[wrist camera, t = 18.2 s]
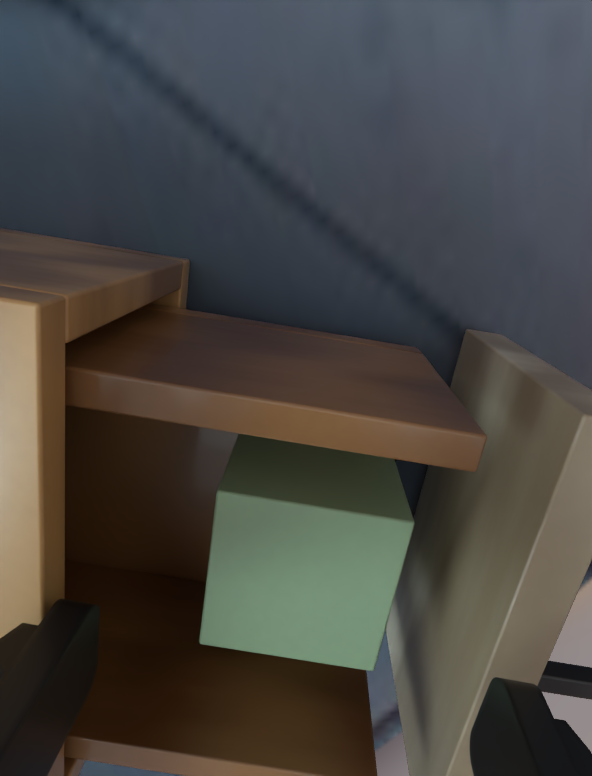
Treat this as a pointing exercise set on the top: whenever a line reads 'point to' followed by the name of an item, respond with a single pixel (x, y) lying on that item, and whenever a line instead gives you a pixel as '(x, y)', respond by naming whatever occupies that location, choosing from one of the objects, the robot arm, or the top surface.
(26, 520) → the cabinet
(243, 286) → the top surface
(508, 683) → the robot arm
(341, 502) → the block
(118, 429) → the drawer
